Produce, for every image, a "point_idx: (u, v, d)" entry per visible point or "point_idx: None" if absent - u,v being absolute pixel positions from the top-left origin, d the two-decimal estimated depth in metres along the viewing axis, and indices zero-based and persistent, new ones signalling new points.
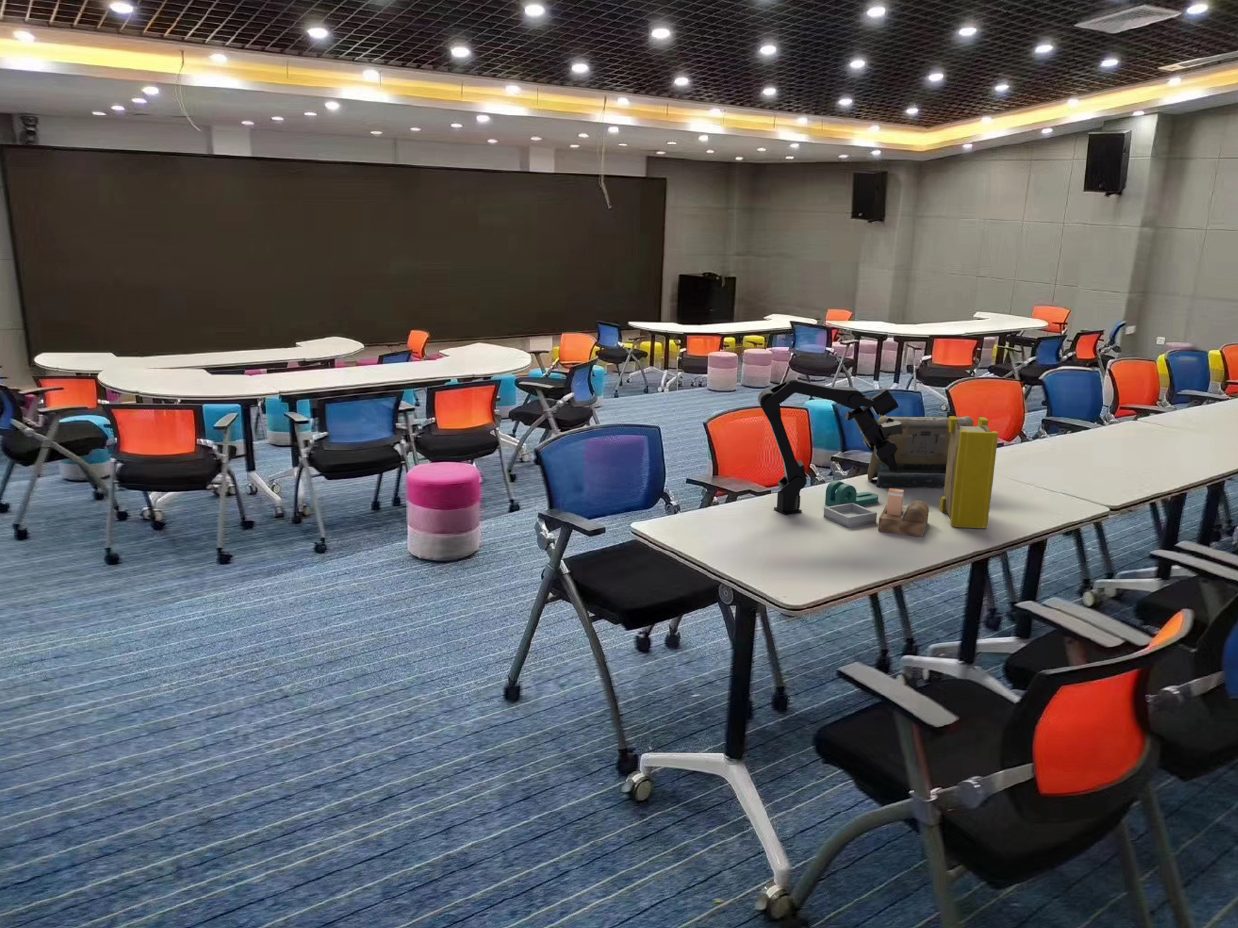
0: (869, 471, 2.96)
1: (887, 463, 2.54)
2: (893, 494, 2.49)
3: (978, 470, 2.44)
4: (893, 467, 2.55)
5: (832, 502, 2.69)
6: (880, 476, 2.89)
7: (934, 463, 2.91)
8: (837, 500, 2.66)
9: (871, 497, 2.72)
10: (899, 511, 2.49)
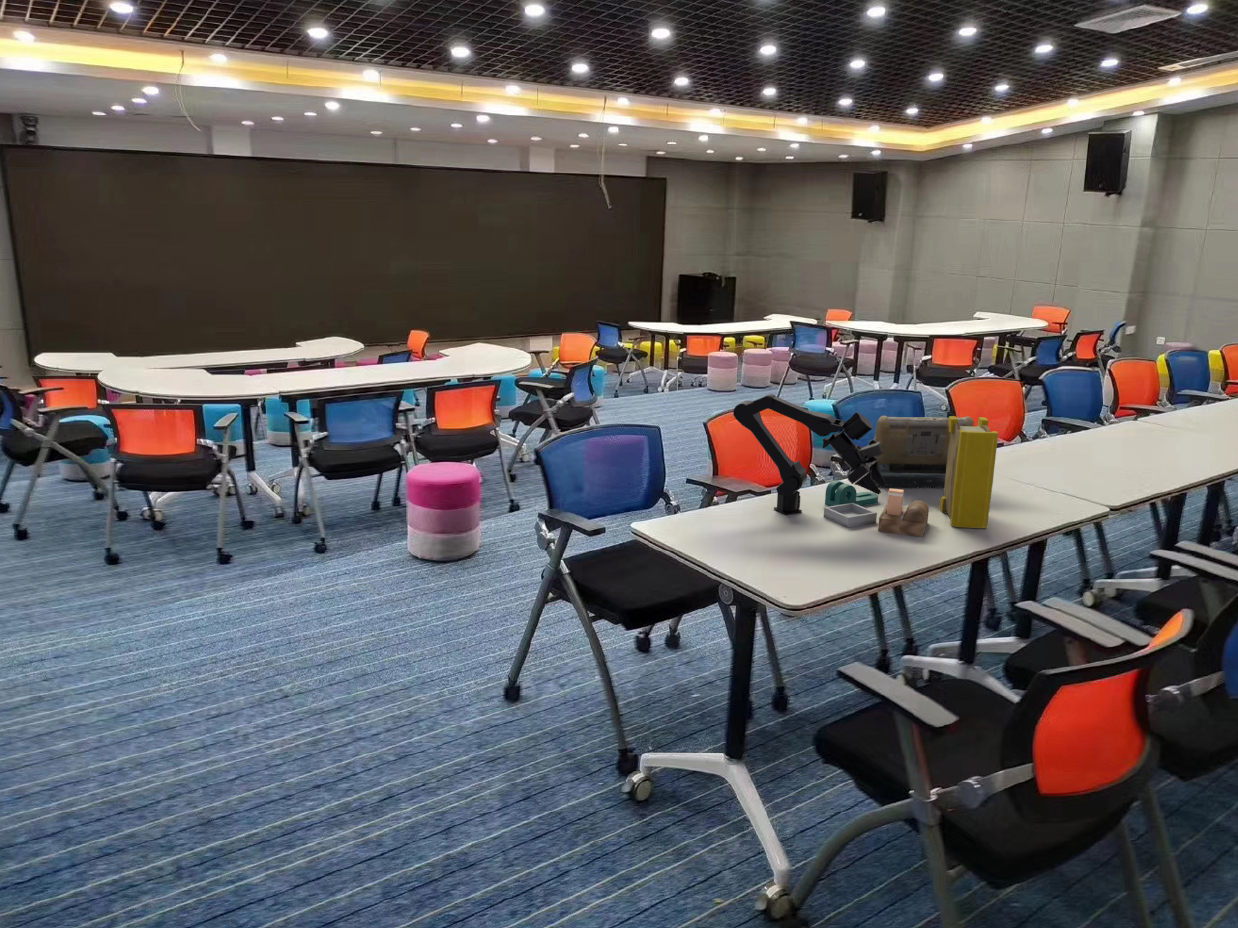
0: None
1: (866, 487, 2.47)
2: (893, 494, 2.49)
3: (978, 470, 2.44)
4: (874, 490, 2.47)
5: (832, 502, 2.69)
6: None
7: (934, 463, 2.91)
8: (837, 500, 2.66)
9: (871, 497, 2.72)
10: (899, 511, 2.49)
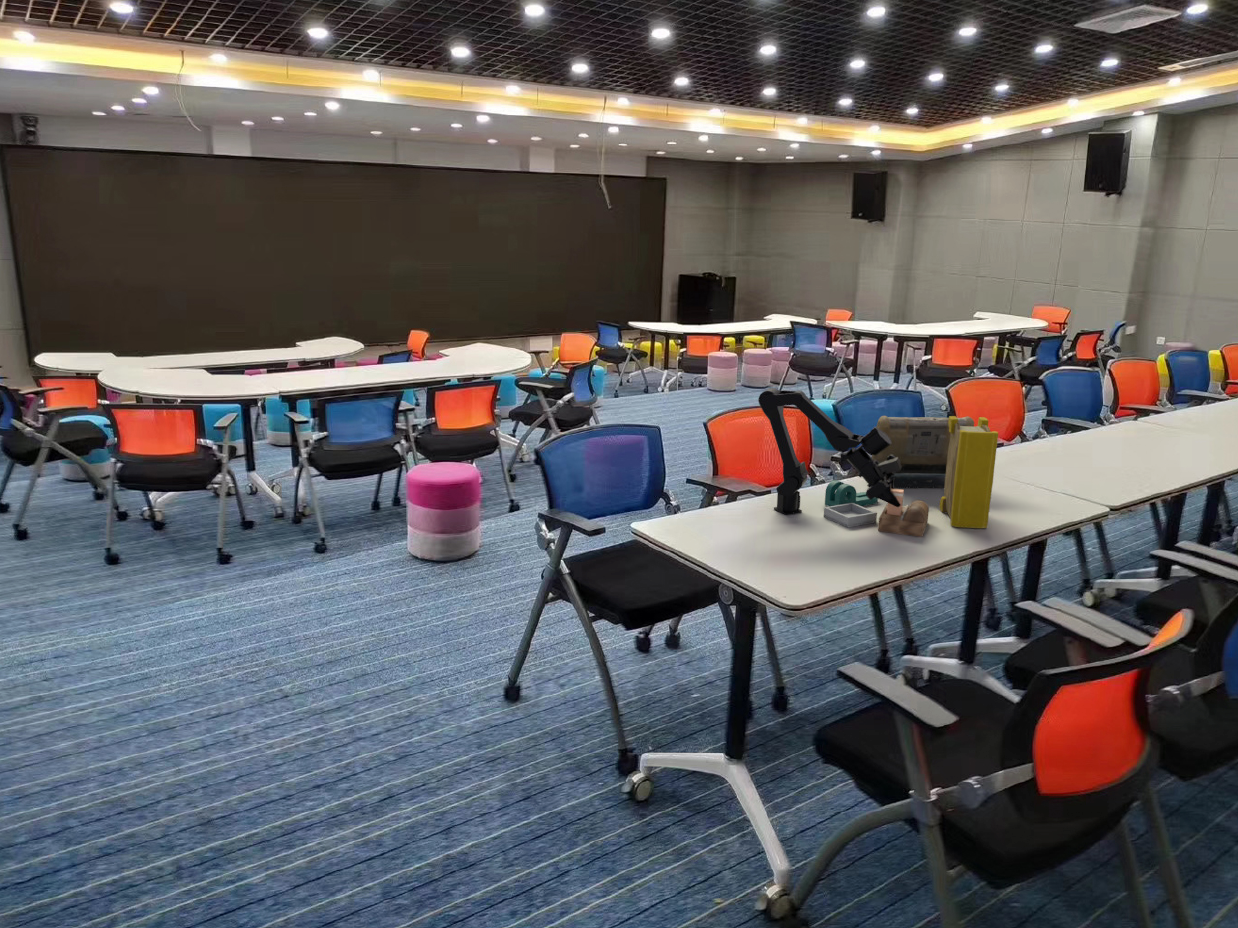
0: None
1: (886, 500, 2.49)
2: None
3: (978, 470, 2.44)
4: (894, 503, 2.48)
5: (832, 502, 2.69)
6: None
7: (934, 463, 2.91)
8: (837, 500, 2.66)
9: None
10: (899, 511, 2.49)
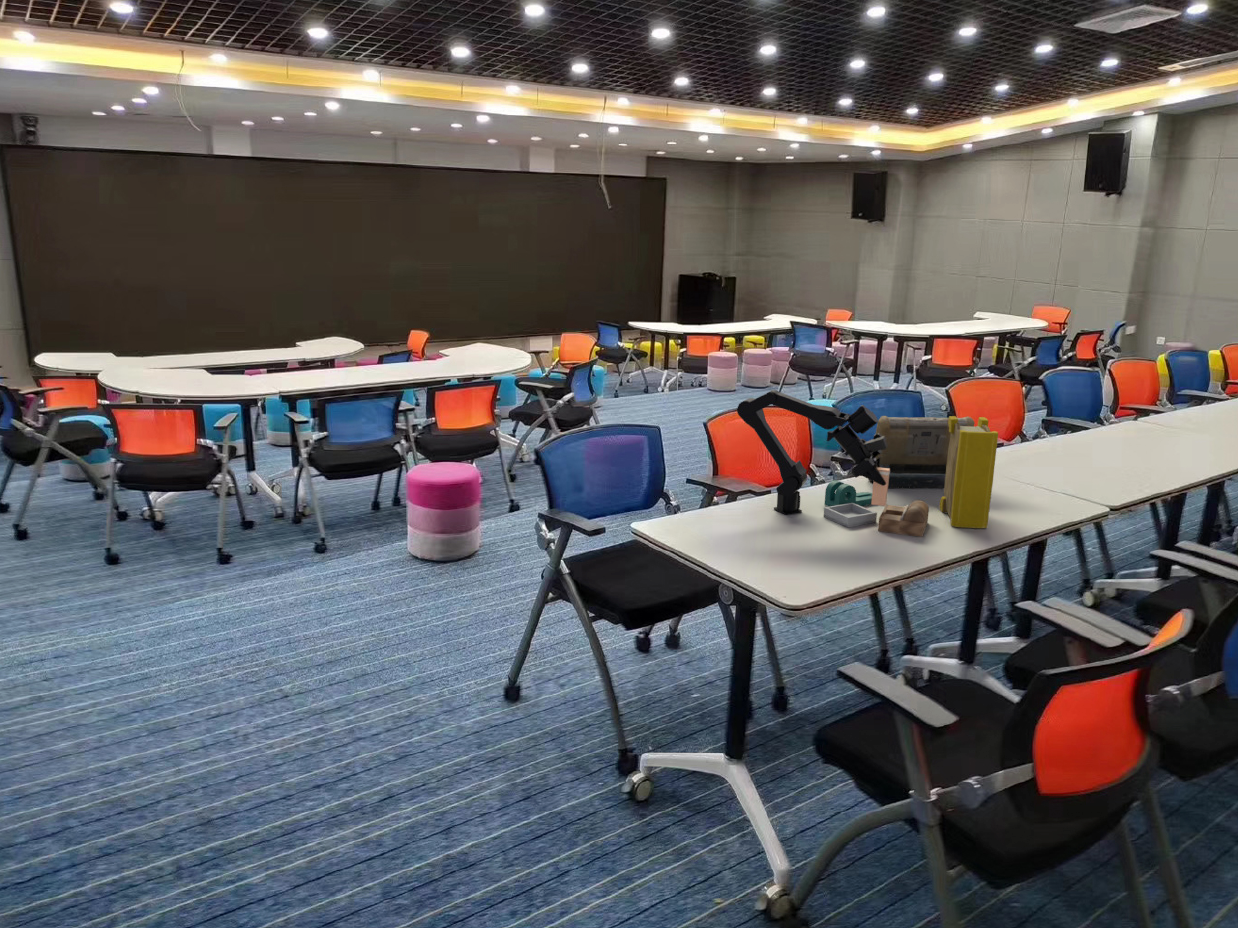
0: None
1: (872, 478, 2.49)
2: None
3: (978, 470, 2.44)
4: (880, 482, 2.49)
5: (832, 502, 2.68)
6: None
7: (935, 463, 2.90)
8: (836, 500, 2.66)
9: (871, 497, 2.72)
10: (885, 490, 2.49)
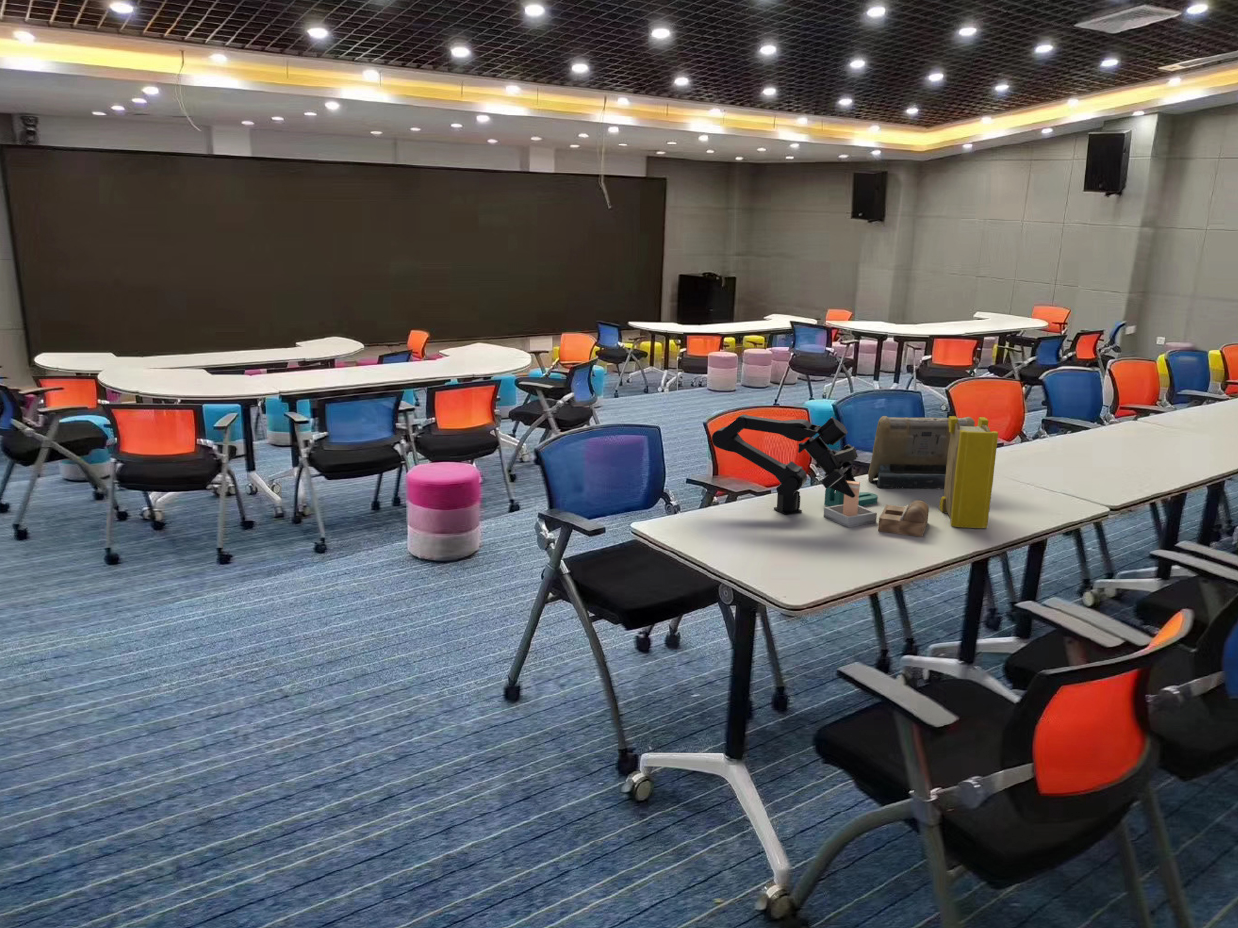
0: (870, 472, 2.95)
1: (841, 490, 2.52)
2: None
3: (978, 470, 2.44)
4: (849, 494, 2.51)
5: (831, 502, 2.68)
6: (881, 477, 2.88)
7: (935, 464, 2.90)
8: (836, 500, 2.66)
9: (870, 497, 2.72)
10: (855, 503, 2.54)
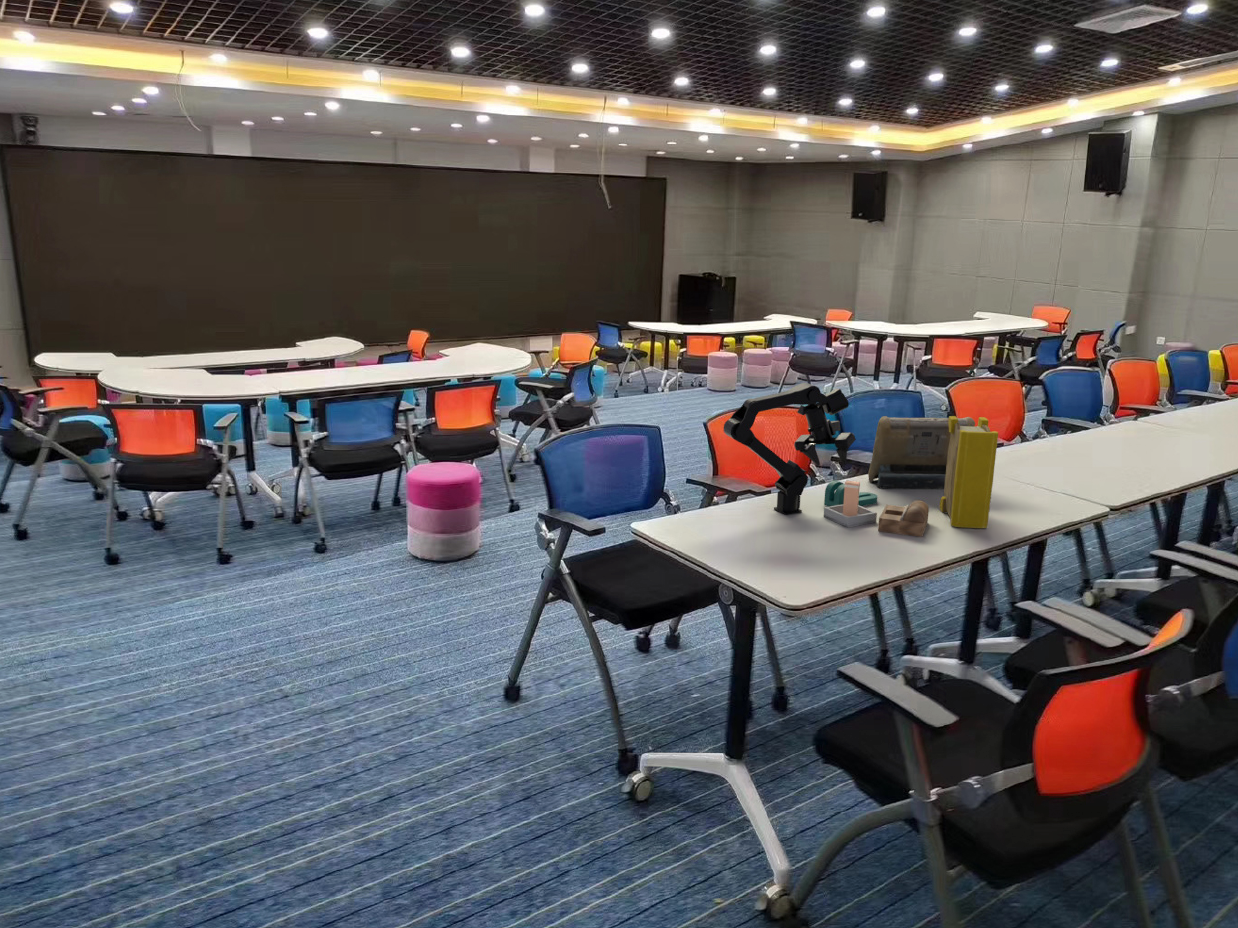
0: (870, 472, 2.95)
1: (843, 456, 2.59)
2: (849, 486, 2.54)
3: (978, 470, 2.44)
4: (844, 461, 2.61)
5: (831, 502, 2.68)
6: (881, 477, 2.88)
7: (935, 464, 2.90)
8: (836, 500, 2.66)
9: (870, 497, 2.72)
10: (855, 503, 2.54)
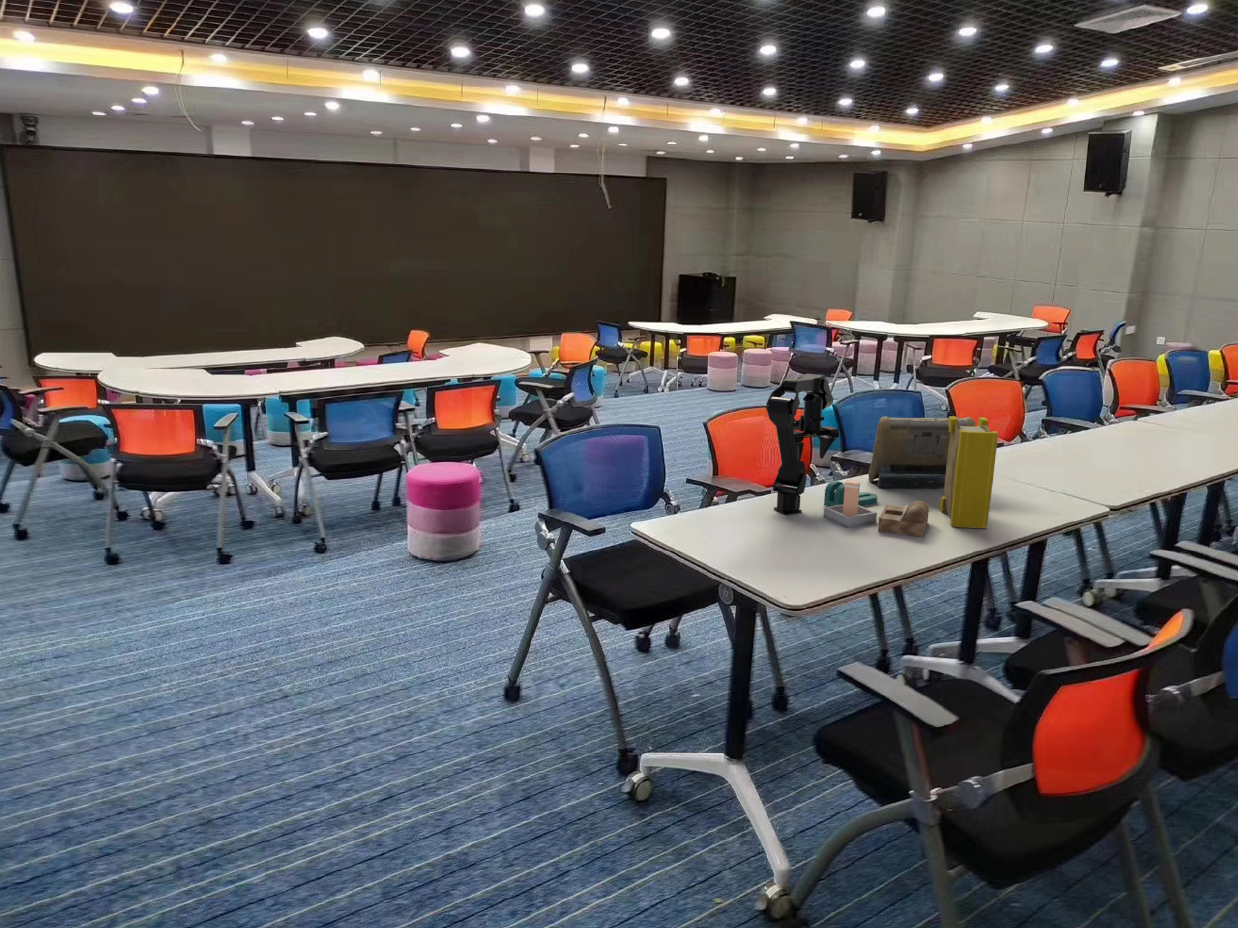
0: (870, 472, 2.95)
1: None
2: (849, 486, 2.54)
3: (978, 470, 2.44)
4: None
5: (831, 502, 2.68)
6: (881, 477, 2.88)
7: (935, 464, 2.90)
8: (836, 500, 2.66)
9: (870, 497, 2.72)
10: (855, 503, 2.54)
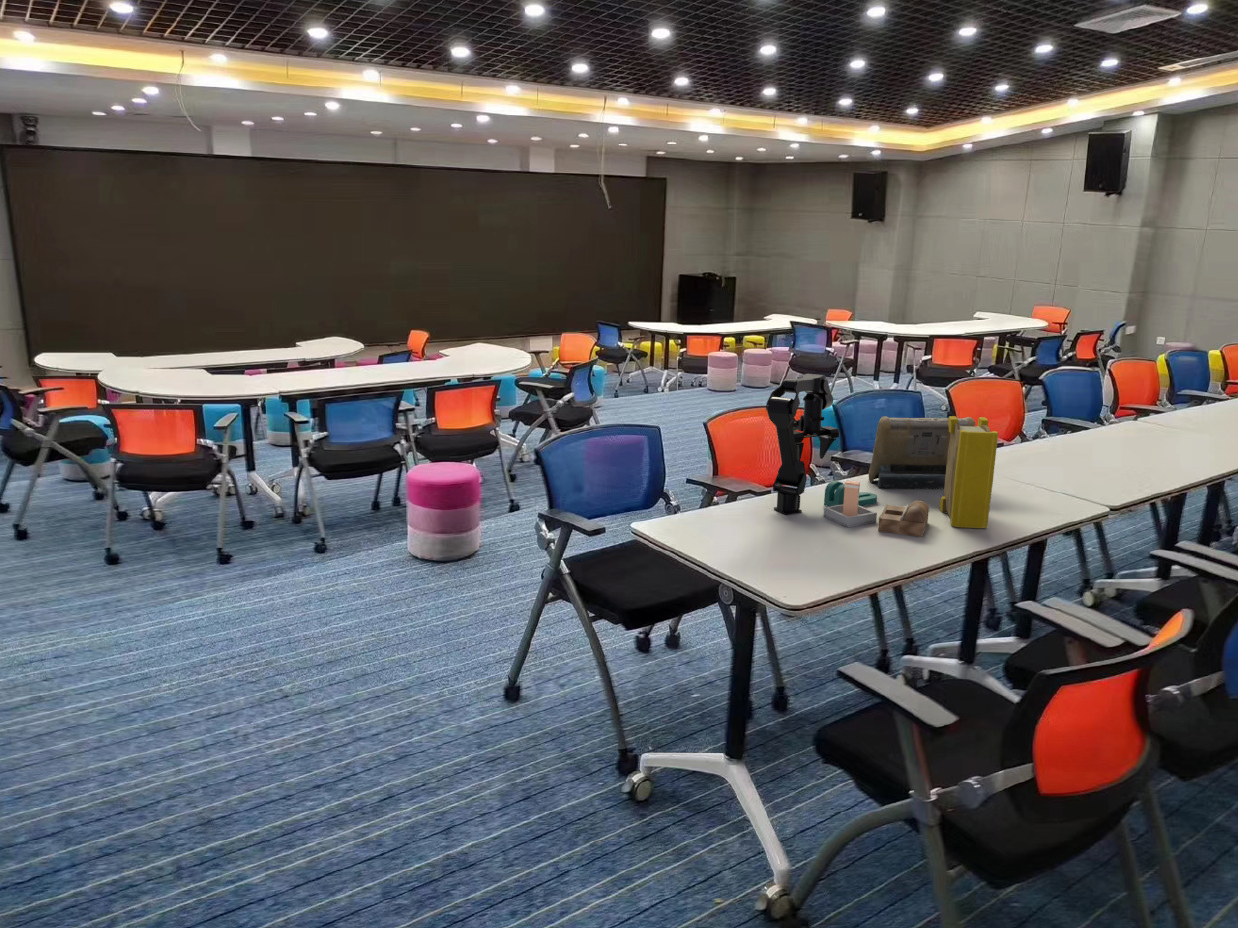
0: (870, 472, 2.95)
1: None
2: (849, 486, 2.54)
3: (978, 470, 2.44)
4: None
5: (831, 502, 2.68)
6: (881, 477, 2.88)
7: (935, 464, 2.90)
8: (836, 500, 2.66)
9: (870, 497, 2.72)
10: (855, 503, 2.54)
